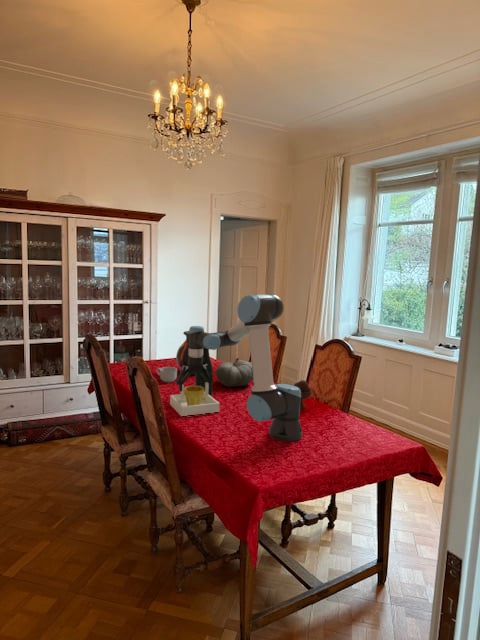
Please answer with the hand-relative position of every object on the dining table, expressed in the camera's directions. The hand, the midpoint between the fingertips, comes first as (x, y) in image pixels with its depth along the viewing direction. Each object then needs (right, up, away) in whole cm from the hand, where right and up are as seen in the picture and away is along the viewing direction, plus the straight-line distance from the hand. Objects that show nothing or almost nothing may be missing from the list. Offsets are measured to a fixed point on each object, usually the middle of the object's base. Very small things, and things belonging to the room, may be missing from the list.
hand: (194, 395), depth 231 cm
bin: (0, -7, +1) cm, 7 cm away
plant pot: (-1, -6, +1) cm, 6 cm away
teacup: (-23, +1, +49) cm, 54 cm away
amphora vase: (-9, +3, +71) cm, 72 cm away
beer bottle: (+3, -4, +24) cm, 25 cm away
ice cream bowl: (+57, -8, +11) cm, 59 cm away
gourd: (+20, -1, +47) cm, 52 cm away
